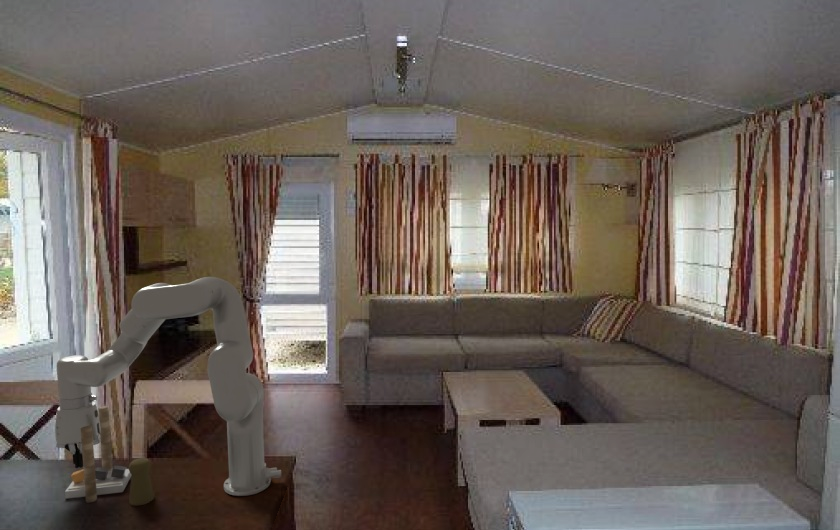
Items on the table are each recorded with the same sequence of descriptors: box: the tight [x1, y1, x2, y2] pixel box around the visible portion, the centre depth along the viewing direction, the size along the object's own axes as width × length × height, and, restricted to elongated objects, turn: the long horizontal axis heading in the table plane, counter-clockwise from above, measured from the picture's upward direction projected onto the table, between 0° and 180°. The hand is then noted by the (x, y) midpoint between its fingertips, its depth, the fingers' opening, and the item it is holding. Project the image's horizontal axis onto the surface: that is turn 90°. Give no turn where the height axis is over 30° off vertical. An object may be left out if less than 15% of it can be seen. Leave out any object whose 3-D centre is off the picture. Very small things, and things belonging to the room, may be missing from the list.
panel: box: [64, 468, 132, 499], centre depth 158 cm, size 14×10×2 cm
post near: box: [81, 426, 98, 504], centre depth 150 cm, size 3×3×20 cm
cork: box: [128, 457, 155, 506], centre depth 151 cm, size 6×6×11 cm
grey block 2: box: [111, 465, 127, 478], centre depth 159 cm, size 3×2×2 cm, turn 105°
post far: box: [97, 405, 114, 471], centre depth 165 cm, size 3×3×20 cm
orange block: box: [70, 469, 84, 483], centre depth 157 cm, size 3×2×2 cm, turn 103°
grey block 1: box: [95, 466, 109, 480], centre depth 158 cm, size 3×2×2 cm, turn 105°
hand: (80, 465), depth 157 cm, fingers closed
